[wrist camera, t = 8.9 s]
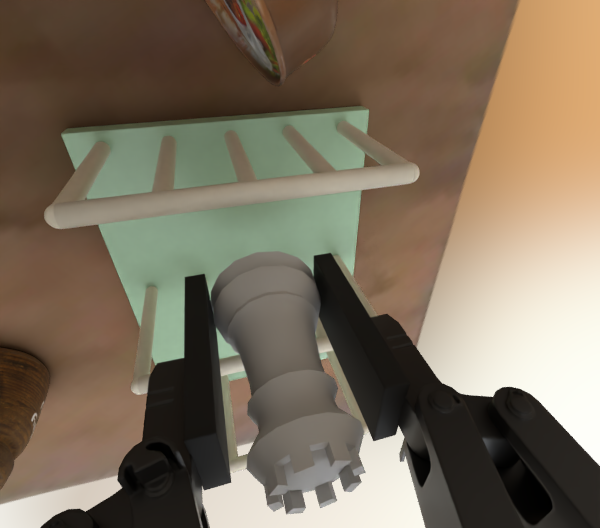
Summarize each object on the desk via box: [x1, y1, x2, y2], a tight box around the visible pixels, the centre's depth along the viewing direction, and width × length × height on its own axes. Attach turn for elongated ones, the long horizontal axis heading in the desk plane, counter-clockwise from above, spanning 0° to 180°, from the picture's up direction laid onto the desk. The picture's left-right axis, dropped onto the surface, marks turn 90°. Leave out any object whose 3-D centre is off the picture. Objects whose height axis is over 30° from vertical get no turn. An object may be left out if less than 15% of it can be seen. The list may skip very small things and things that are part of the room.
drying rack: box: [44, 106, 419, 474], centre depth 20 cm, size 20×15×8 cm
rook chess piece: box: [211, 251, 365, 514], centre depth 12 cm, size 4×4×8 cm
